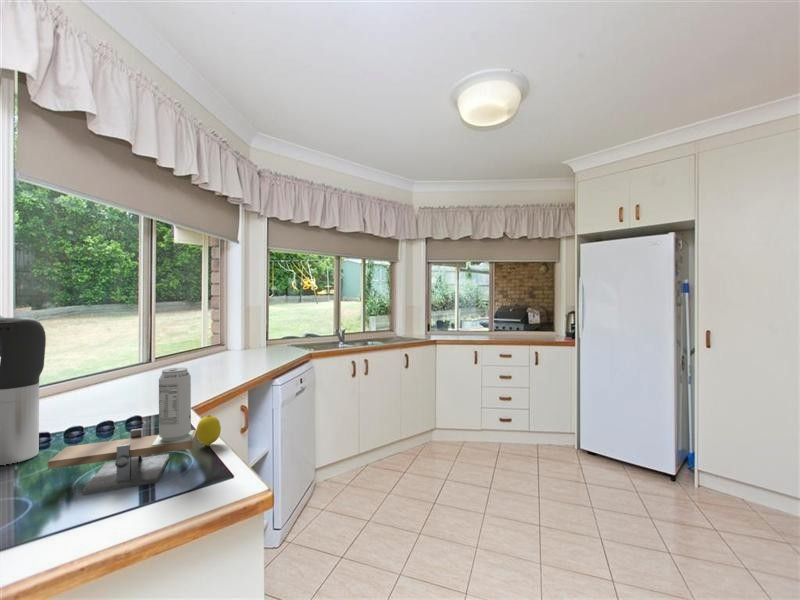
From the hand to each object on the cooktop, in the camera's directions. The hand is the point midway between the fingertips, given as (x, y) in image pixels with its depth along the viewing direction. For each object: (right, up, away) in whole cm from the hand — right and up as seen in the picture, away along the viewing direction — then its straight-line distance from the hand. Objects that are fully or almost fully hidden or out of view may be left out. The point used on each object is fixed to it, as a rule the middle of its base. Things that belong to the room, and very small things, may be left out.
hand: (10, 327), depth 69 cm
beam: (+16, -27, +9) cm, 33 cm away
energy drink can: (+24, -25, +12) cm, 37 cm away
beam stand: (+16, -32, +9) cm, 37 cm away
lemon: (+25, -32, +24) cm, 48 cm away
